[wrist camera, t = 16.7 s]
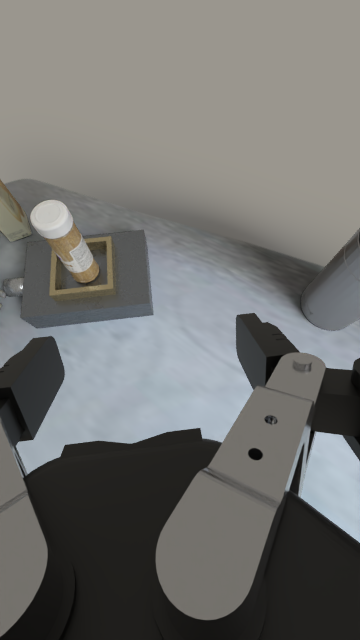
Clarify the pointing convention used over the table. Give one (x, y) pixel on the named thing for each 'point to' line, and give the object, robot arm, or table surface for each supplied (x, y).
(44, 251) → the grey block with recess
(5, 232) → the skincare box
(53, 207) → the sprinkles bottle
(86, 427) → the table surface
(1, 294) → the cable
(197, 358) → the table surface
